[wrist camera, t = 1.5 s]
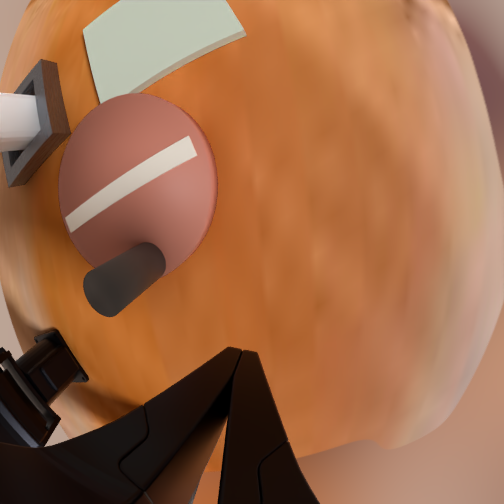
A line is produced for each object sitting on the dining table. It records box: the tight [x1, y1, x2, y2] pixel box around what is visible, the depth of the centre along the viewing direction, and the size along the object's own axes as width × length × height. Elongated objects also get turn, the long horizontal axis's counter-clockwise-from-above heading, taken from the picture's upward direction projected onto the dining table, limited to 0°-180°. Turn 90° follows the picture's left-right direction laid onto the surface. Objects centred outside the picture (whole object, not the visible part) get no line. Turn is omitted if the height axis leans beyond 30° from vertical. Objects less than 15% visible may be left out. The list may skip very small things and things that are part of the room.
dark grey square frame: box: [2, 59, 71, 188], centre depth 14 cm, size 8×8×2 cm
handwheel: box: [58, 93, 218, 317], centre depth 11 cm, size 10×10×5 cm
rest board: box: [83, 0, 247, 103], centre depth 12 cm, size 10×9×1 cm
